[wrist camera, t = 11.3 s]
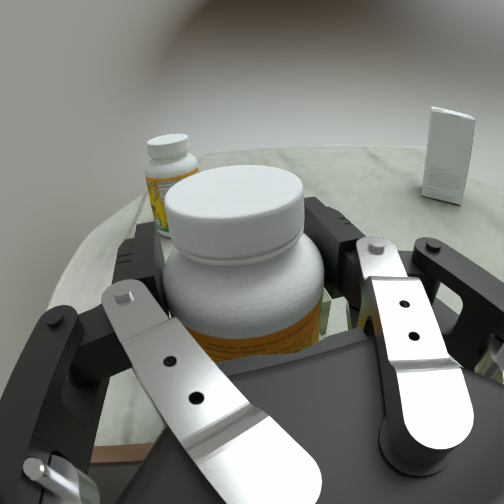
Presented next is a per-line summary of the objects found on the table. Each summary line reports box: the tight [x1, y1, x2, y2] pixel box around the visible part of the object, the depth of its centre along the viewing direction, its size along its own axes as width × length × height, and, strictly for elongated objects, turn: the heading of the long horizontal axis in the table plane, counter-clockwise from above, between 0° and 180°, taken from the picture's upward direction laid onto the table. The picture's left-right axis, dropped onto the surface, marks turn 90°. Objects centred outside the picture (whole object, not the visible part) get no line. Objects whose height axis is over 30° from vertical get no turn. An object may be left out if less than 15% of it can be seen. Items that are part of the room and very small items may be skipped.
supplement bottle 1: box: [145, 134, 199, 238], centre depth 31 cm, size 5×5×10 cm
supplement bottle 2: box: [162, 165, 324, 364], centre depth 12 cm, size 5×5×10 cm
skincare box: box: [422, 107, 475, 205], centre depth 35 cm, size 6×4×12 cm
